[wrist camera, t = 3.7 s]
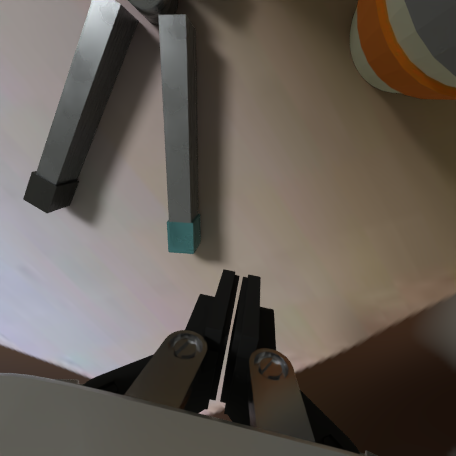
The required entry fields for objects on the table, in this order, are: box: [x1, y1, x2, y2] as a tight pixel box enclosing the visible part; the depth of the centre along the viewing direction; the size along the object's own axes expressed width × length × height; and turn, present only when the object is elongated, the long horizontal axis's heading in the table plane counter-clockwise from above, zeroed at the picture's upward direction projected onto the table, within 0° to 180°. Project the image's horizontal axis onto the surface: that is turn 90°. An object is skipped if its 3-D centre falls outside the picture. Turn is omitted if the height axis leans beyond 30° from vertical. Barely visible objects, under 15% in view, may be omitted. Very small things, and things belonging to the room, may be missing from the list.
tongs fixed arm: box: [23, 0, 138, 213], centre depth 23 cm, size 24×6×4 cm, turn 149°
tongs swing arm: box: [128, 0, 201, 254], centre depth 23 cm, size 22×5×4 cm, turn 179°
